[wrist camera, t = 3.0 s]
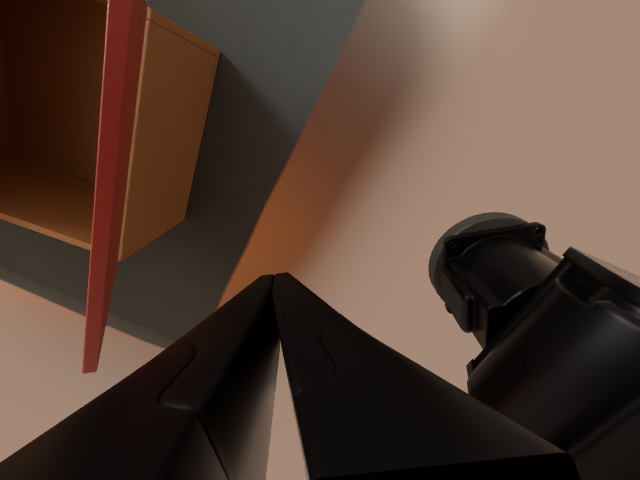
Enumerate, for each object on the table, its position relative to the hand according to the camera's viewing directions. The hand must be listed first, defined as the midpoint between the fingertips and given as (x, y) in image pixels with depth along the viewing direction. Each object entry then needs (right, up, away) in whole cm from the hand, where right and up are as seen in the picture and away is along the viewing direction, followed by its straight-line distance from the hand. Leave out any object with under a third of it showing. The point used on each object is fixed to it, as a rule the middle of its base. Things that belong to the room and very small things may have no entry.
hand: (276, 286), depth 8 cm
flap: (-6, +3, +1) cm, 7 cm away
